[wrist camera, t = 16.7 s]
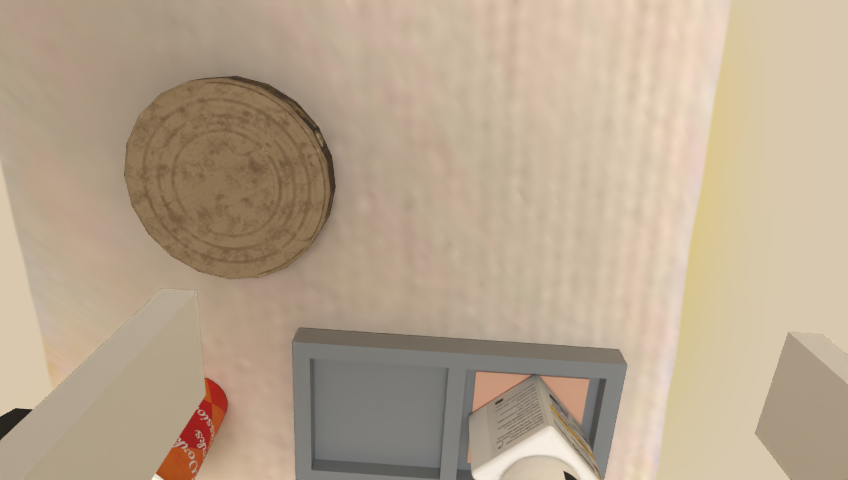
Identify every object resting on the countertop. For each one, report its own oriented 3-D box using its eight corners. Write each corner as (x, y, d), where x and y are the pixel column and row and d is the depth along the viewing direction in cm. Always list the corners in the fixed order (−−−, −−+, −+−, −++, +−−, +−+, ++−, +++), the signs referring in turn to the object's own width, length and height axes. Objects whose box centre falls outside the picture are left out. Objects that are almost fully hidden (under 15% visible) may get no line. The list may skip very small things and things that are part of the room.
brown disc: (222, 296, 50) (209, 311, 48) (103, 141, 46) (81, 148, 43) (373, 209, 47) (368, 220, 44) (260, 34, 43) (247, 34, 40)
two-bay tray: (302, 463, 56) (295, 481, 53) (299, 327, 51) (292, 341, 48) (592, 484, 55) (599, 503, 53) (618, 349, 50) (627, 364, 48)
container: (585, 429, 52) (628, 550, 40) (515, 469, 54) (536, 597, 41) (536, 370, 50) (565, 478, 38) (466, 414, 52) (472, 531, 40)
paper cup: (234, 441, 55) (168, 567, 42) (156, 425, 55) (64, 547, 42) (243, 373, 53) (175, 486, 39) (160, 356, 52) (64, 464, 39)
